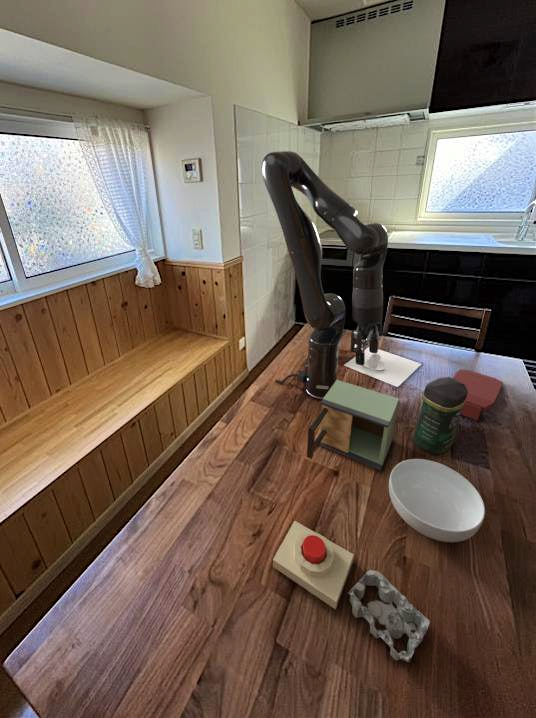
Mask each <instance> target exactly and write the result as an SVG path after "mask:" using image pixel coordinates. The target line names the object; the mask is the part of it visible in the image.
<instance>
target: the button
mask: <svg viewBox="0 0 536 718" xmlns="http://www.w3.org/2000/svg"><path fill="white" fill-rule="evenodd" d="M325 551H326V547H325V544H324V542H323V540H322V539H321V538H319V537H318V536H315V535H310V536H307V537H306V538H305V539H304V541H303V555H304V557H305V558H306V559H307V560H308V561H309V562H311V563H314V564H318V563H321V562H322V561H323V560H324V558H325Z"/></svg>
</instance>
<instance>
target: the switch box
mask: <svg viewBox="0 0 536 718" xmlns="http://www.w3.org/2000/svg"><path fill="white" fill-rule="evenodd" d="M310 535H315V536H318V537H319V538H321V539H322V540H323V542H324V544H325V547H326V551H325V558H324V560H323V561H322V562H321V563H318V564H314V563H311V562H309V561H308V560H307V559H306V558H305V557H304V555H303V541H304V539H305V538H306V537H307V536H310ZM354 556H355V554H353V553H352V552H350V551H348V550H347V549H345V548H343V547H341V546H339V545H338V544H336V543H335V542H333V541H331V540H329V539H328V538H327V537H325V536H323V535H322V534H320V533H318V532H316V531H314V530H312V529H310V528H308V526H307V527H306V526H305V525H304V524H302V523H301V522H300V523H299V522H298V521H296V520H294V521H293V522H292V524H291V526H290V528H289V530H288V532H287V533H286V535H285V537H284V539H283V541H282V543H280V546H279V548H278V549H277V551H276V553H275V555H274V557H273V559H272V568H274V569H276V570H277V571H279V572H280V573H282V574H283V575H284V576H285V577H287V578H289V579H290V580H292V581H293V582H295V583H296V584H298V585H299V586H300V587H302V588H303V589H305V590H306V591H308V592H309V593H311V594H312V595H314V596H315V597H317V598H318V599H320V600H321V601H322V602H324V603H325V604H326V605H328V606H329V607H331V608H332V609H334V610H337V607H338V604H339V602H340V599H341V597H342V594H343V590H344V587H345V586H346V582H347V581H348V577H349V574H350V571H351V569H352V565H353V563H354V558H355V557H354Z"/></svg>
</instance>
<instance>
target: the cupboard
mask: <svg viewBox="0 0 536 718" xmlns="http://www.w3.org/2000/svg"><path fill="white" fill-rule="evenodd" d="M399 404H400V397H399V398H398V397H395V396H393V395H389V394H386V393H382V392H378V391H377V390H373V389H368V388H366V387H363V386H359V385H356V384H353V383H349V382H345V381H343V380H339V379H336V382H335V383H334V384H333V386H332V387H331V389H330V390H329V391H328V393H327V394H326V395H325V397H324V398H323V400H320V405H321V406H322V405H325V406H327V407H330V408H333V409H336V410H339V411H342V412H344V413H347V414H350V415H353V420H352V429H351V437H350V446H349V452H348V453H346V452H344V451H341V450H339V449H337V448H334V447H332V446H329V445H327V444H324V443H322V442H320V444H319V445H318V447H322V448H324V449H326V450H329V451H331V452H334V453H336V454H338V455H341V456H343V457H346V458H348V459H350V460H352V461H355V462H357V463H359V464H362V465H365V466H367V467H369V468H371V469H374V470H376V471H379V472H381V471H382V468H383V466H384V463H385V460H386V458H387V455H388V452H389V450H390V447H391V444H392V441H393V435H394V431H395V425H396V420H397V414H398V409H399Z"/></svg>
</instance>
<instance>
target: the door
mask: <svg viewBox="0 0 536 718" xmlns="http://www.w3.org/2000/svg"><path fill="white" fill-rule="evenodd" d="M352 420H353V415H350V414H347V413H344V412H342V411H339V410H336V409H333V408H330V407H327V406H325V405H322V404H321V411H320V413H319V414H318V415H317V417H316V419H314V421H313V423H312V424H309V426H308V429H307V447H306V450H307V451H306V458H308V459H311V460H312V459H313V457H314V454H315V452H316V451H317V449H318V448H319V444H320V442H322V443H324V444H327V445H329V446H332V447H334V448H337V449H339V450H341V451H344V452H346V453H348V452H349V446H350V437H351V429H352ZM319 426H320V428H319V433H318V435H317V437H316V430H317V429H318V427H319ZM315 437H316V438H315Z"/></svg>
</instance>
